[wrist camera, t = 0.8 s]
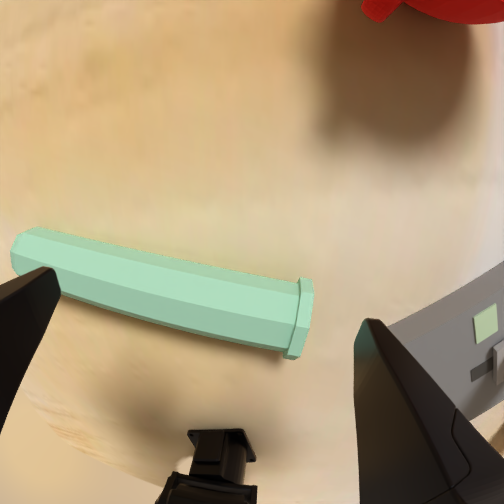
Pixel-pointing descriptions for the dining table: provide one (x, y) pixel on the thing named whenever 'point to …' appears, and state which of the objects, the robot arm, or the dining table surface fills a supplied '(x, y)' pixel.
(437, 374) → the panel
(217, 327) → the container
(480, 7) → the ceramic cup
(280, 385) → the dining table surface
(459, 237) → the dining table surface
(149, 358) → the dining table surface
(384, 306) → the dining table surface
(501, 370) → the breaker handle
